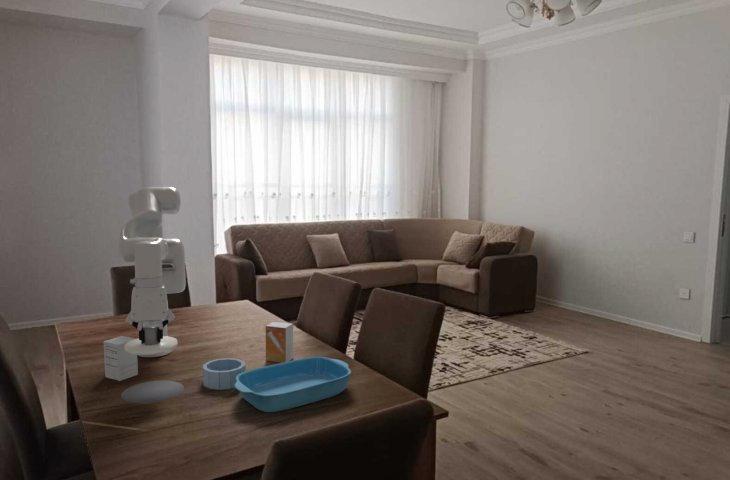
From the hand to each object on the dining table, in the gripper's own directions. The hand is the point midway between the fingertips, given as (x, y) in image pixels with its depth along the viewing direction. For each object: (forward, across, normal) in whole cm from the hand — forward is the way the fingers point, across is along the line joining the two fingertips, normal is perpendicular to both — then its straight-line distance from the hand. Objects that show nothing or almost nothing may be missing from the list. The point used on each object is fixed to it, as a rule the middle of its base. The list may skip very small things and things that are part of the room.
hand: (151, 341), depth 169 cm
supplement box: (+17, -11, +16) cm, 26 cm away
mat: (+16, 0, -1) cm, 16 cm away
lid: (+2, 0, 0) cm, 2 cm away
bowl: (+16, +21, +2) cm, 27 cm away
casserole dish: (+16, +41, -13) cm, 46 cm away
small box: (+17, +41, +21) cm, 49 cm away
